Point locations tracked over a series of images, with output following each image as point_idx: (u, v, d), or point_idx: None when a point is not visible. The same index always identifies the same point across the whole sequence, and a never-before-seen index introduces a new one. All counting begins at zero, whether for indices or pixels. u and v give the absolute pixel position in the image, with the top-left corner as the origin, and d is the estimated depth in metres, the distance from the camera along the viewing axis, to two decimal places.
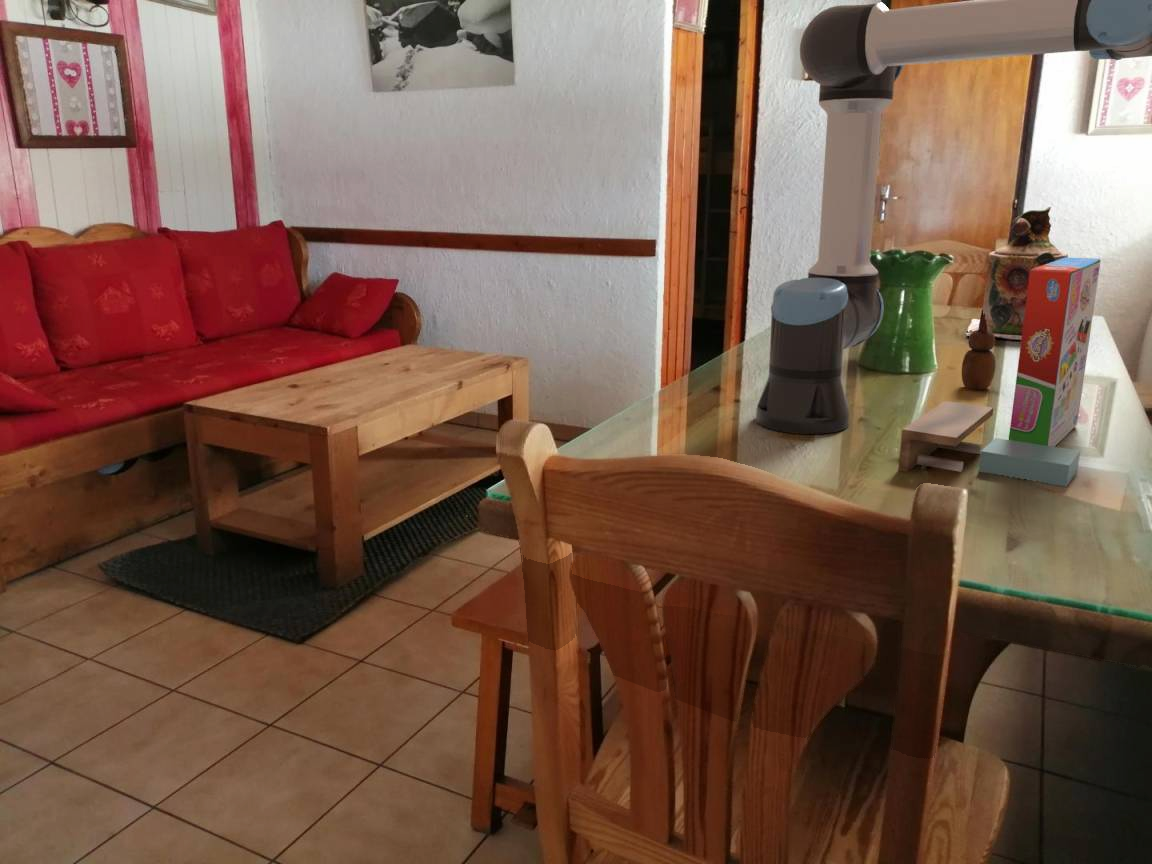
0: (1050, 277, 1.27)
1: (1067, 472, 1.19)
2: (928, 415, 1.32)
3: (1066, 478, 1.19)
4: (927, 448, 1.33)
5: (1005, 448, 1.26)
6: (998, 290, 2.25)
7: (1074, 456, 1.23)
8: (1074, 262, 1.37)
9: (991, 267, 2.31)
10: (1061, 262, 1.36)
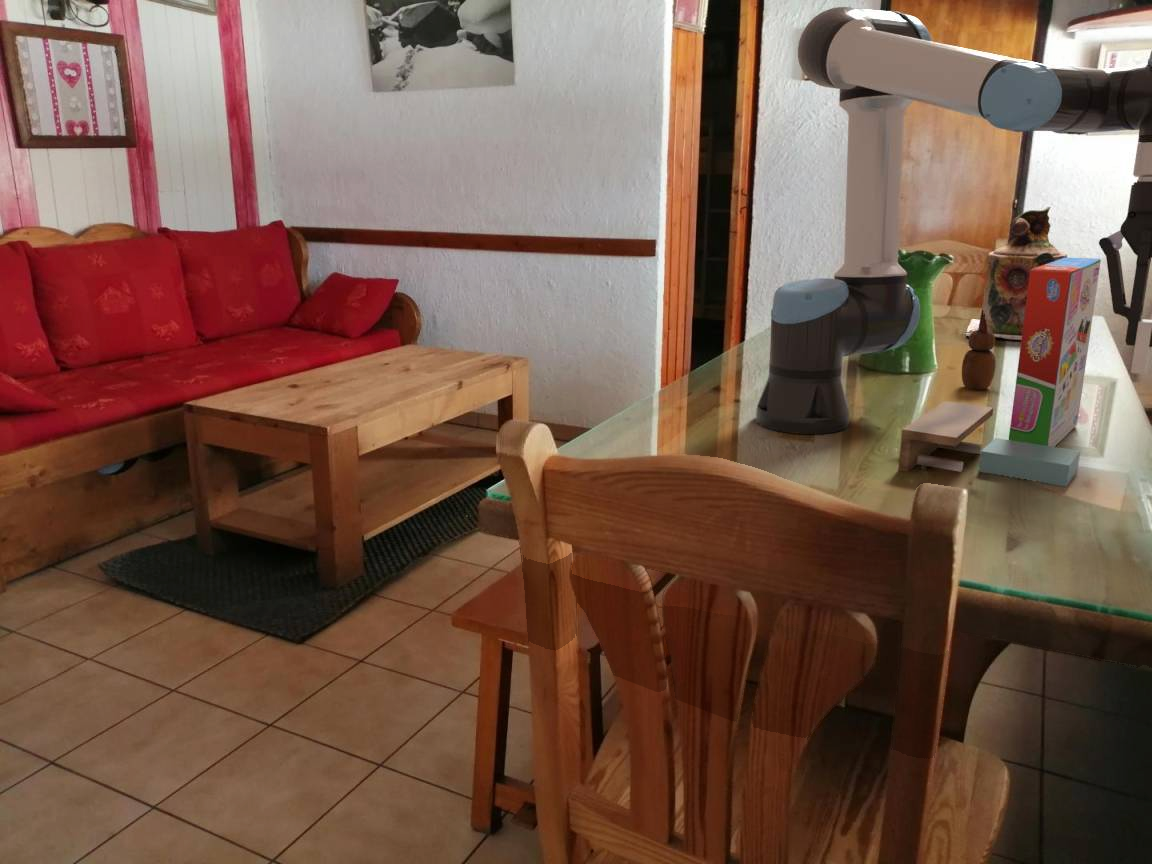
0: (1050, 277, 1.27)
1: (1067, 472, 1.19)
2: (928, 415, 1.32)
3: (1066, 478, 1.19)
4: (927, 448, 1.33)
5: (1005, 448, 1.26)
6: (997, 290, 2.25)
7: (1074, 456, 1.23)
8: (1074, 262, 1.37)
9: (990, 267, 2.30)
10: (1061, 262, 1.36)
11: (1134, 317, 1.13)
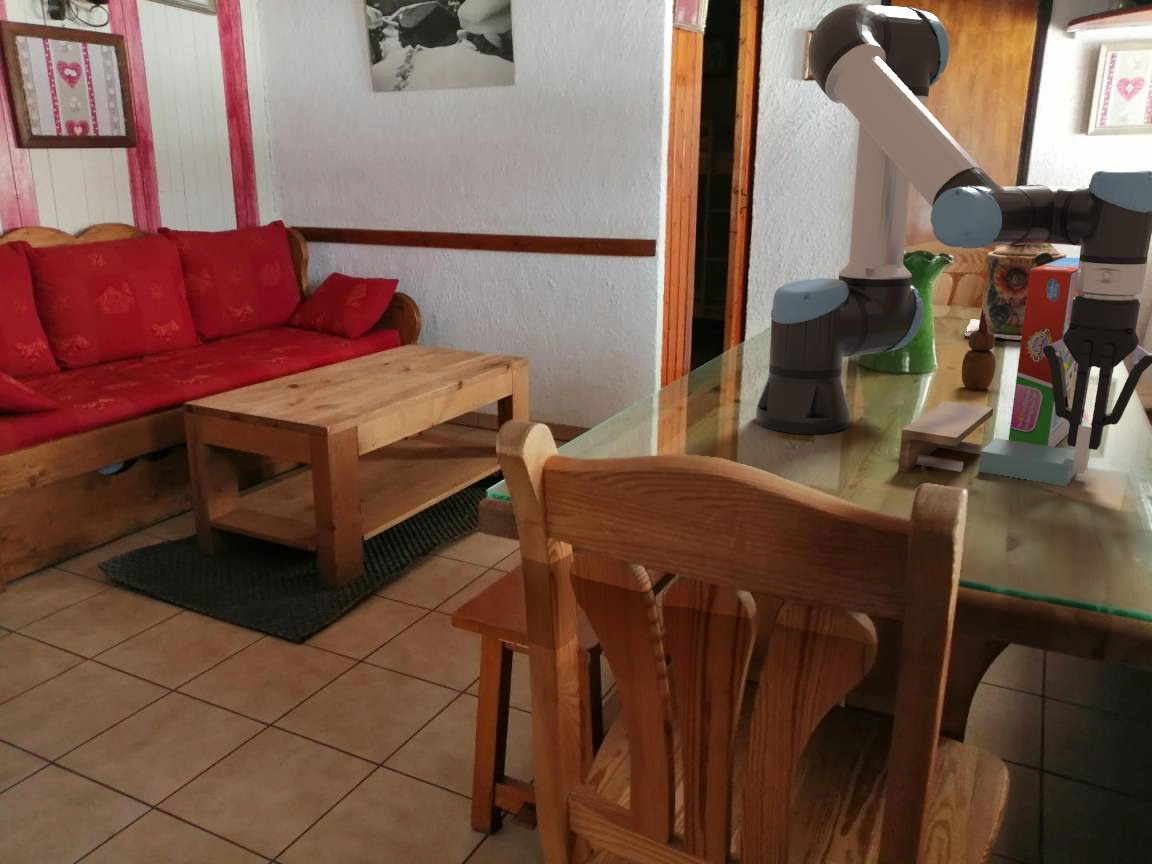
0: (1050, 277, 1.27)
1: (1067, 472, 1.19)
2: (928, 415, 1.32)
3: (1066, 478, 1.19)
4: (927, 448, 1.33)
5: (1005, 448, 1.26)
6: (996, 290, 2.25)
7: None
8: (1074, 262, 1.37)
9: (989, 267, 2.30)
10: (1061, 262, 1.37)
11: (1075, 421, 1.20)
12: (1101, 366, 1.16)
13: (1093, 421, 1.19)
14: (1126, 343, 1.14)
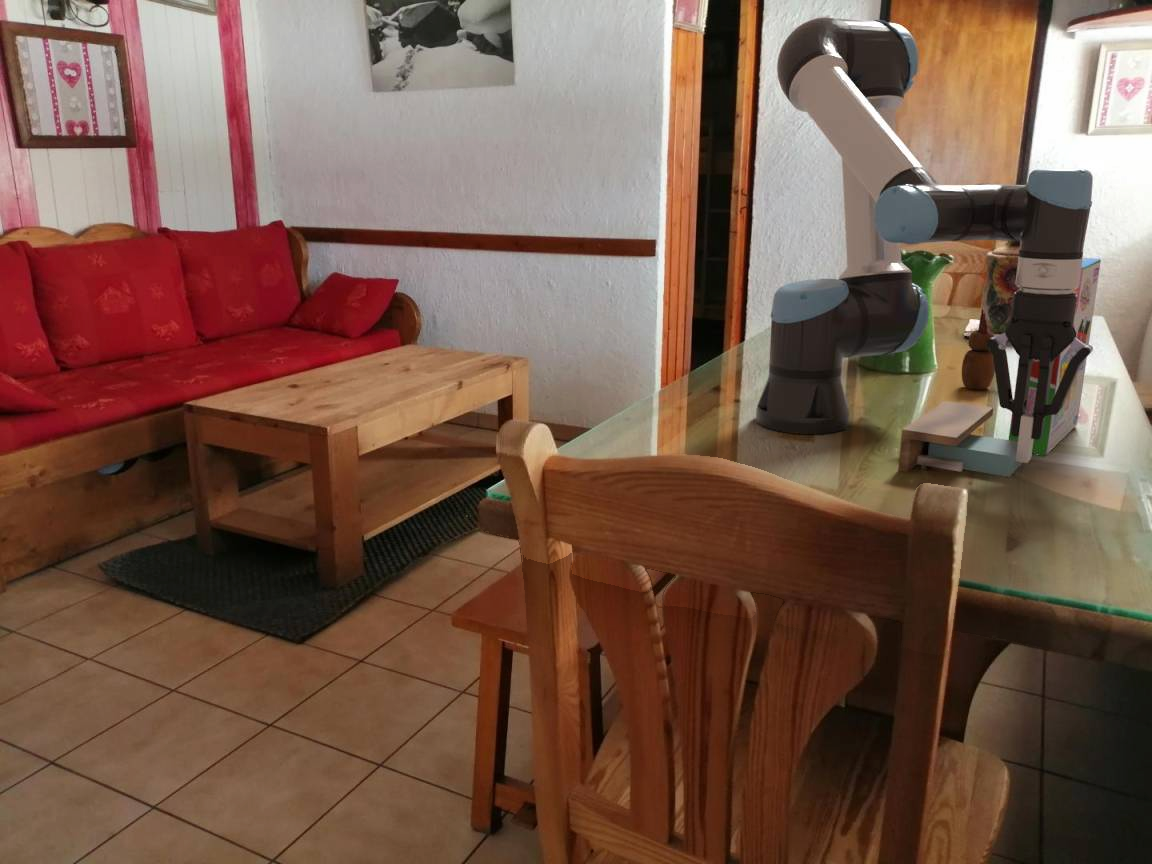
0: None
1: (1010, 463, 1.23)
2: (928, 415, 1.32)
3: (1009, 468, 1.23)
4: (927, 448, 1.33)
5: None
6: (995, 290, 2.25)
7: None
8: None
9: (989, 267, 2.30)
10: None
11: (1017, 412, 1.24)
12: (1041, 358, 1.20)
13: (1034, 412, 1.23)
14: (1064, 336, 1.18)
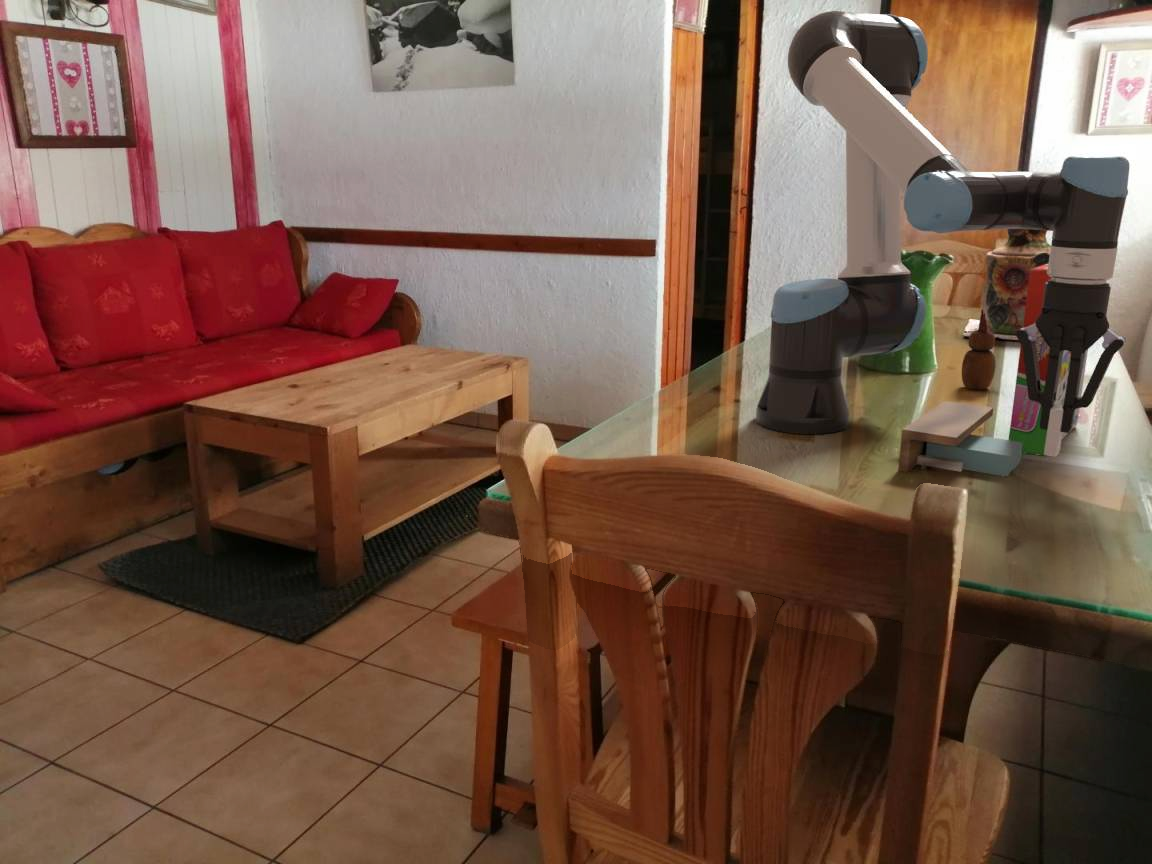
0: (1050, 277, 1.27)
1: (1007, 462, 1.23)
2: (928, 415, 1.32)
3: (1006, 468, 1.24)
4: None
5: None
6: (995, 290, 2.25)
7: (1016, 447, 1.27)
8: None
9: (988, 267, 2.30)
10: None
11: (1047, 404, 1.21)
12: (1072, 350, 1.18)
13: (1065, 404, 1.20)
14: (1097, 327, 1.16)
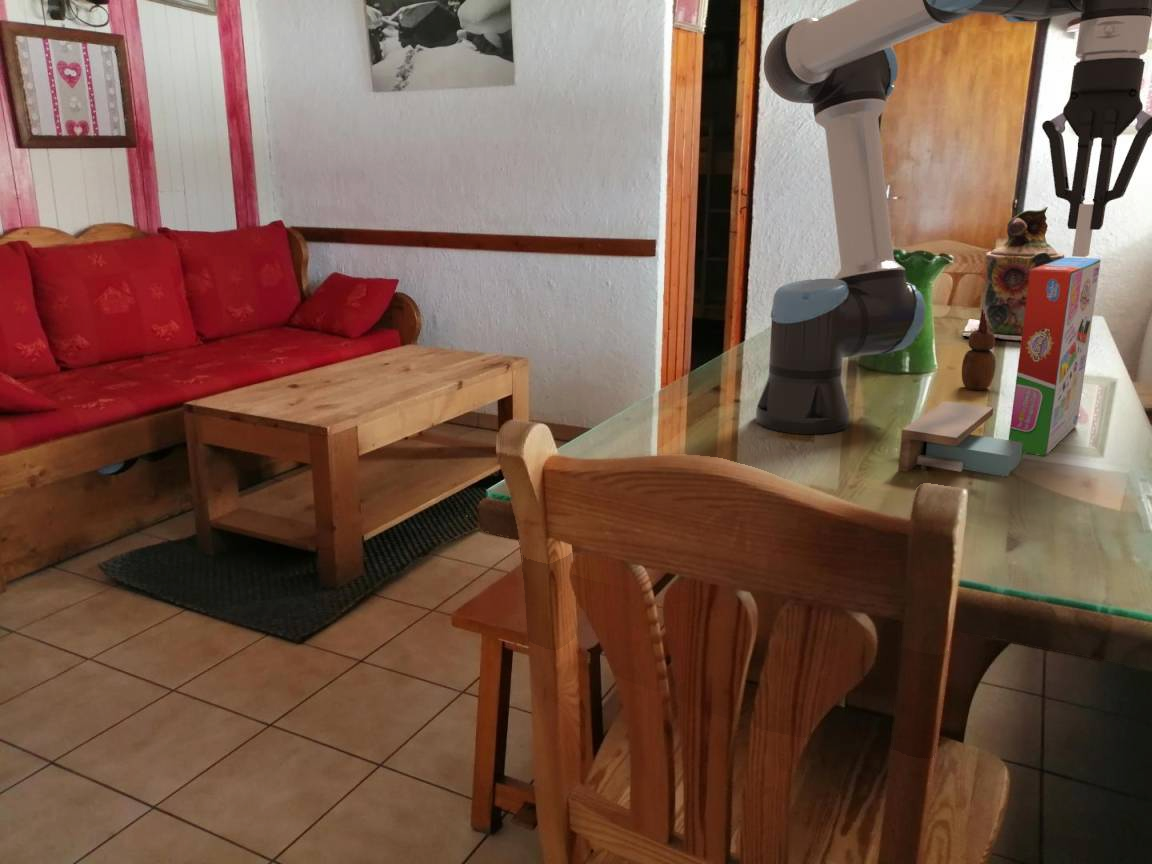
0: (1050, 277, 1.27)
1: (1007, 462, 1.23)
2: (928, 415, 1.32)
3: (1006, 468, 1.24)
4: None
5: None
6: (994, 290, 2.25)
7: (1016, 447, 1.27)
8: (1074, 262, 1.37)
9: (988, 267, 2.30)
10: (1061, 262, 1.37)
11: (1075, 200, 1.14)
12: (1103, 135, 1.10)
13: (1095, 197, 1.13)
14: (1129, 107, 1.09)
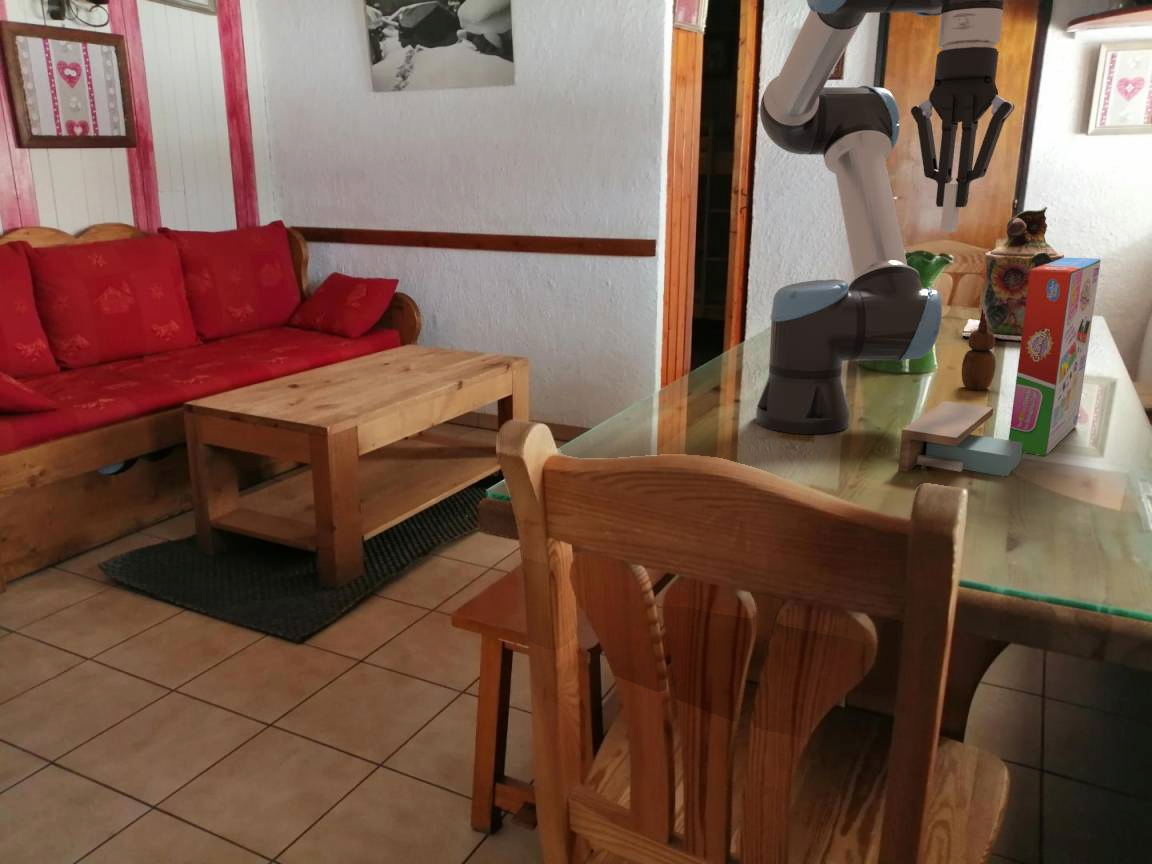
0: (1050, 277, 1.27)
1: (1007, 462, 1.23)
2: (928, 415, 1.32)
3: (1006, 468, 1.24)
4: None
5: None
6: (994, 290, 2.25)
7: (1016, 447, 1.27)
8: (1074, 262, 1.37)
9: (987, 267, 2.30)
10: (1061, 262, 1.37)
11: (941, 179, 1.23)
12: (963, 118, 1.19)
13: (958, 177, 1.22)
14: (985, 92, 1.18)
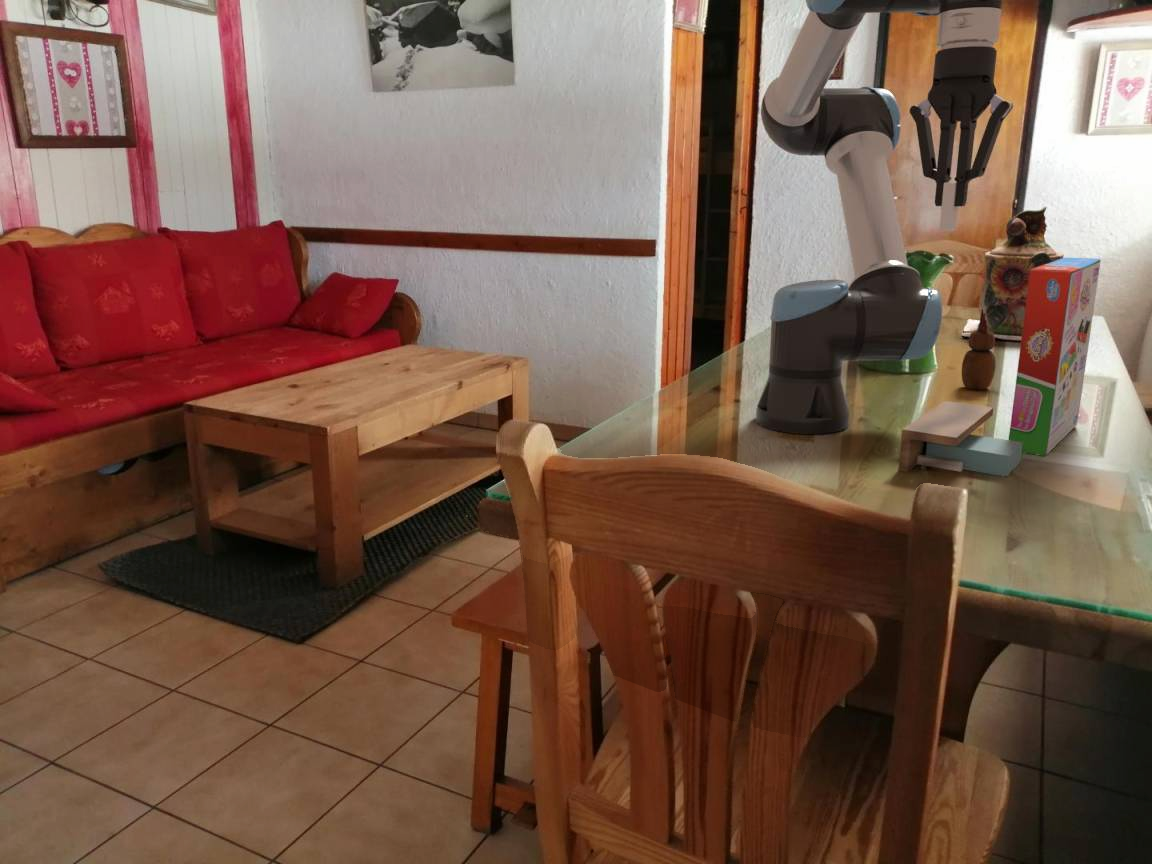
0: (1050, 277, 1.27)
1: (1007, 462, 1.23)
2: (928, 415, 1.32)
3: (1006, 468, 1.24)
4: None
5: None
6: (993, 290, 2.25)
7: (1016, 447, 1.27)
8: (1074, 262, 1.37)
9: (987, 267, 2.30)
10: (1061, 262, 1.37)
11: (940, 178, 1.23)
12: (961, 118, 1.19)
13: (957, 176, 1.22)
14: (984, 92, 1.18)
